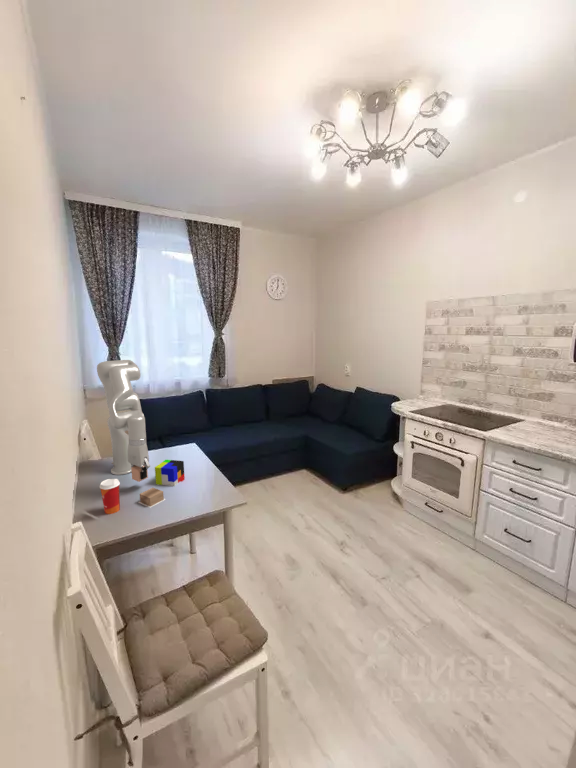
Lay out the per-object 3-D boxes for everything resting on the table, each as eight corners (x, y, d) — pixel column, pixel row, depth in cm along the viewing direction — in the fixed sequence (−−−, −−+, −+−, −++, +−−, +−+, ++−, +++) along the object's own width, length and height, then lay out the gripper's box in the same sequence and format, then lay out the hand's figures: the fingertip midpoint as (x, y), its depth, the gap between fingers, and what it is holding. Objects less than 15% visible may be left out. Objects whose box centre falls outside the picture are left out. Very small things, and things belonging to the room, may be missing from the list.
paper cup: (107, 508, 152) (103, 478, 150) (125, 507, 153) (122, 477, 150) (99, 518, 145) (95, 486, 142) (118, 517, 145) (115, 486, 143)
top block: (132, 478, 167) (131, 467, 166) (141, 474, 171) (140, 463, 170) (138, 481, 164) (138, 470, 163) (147, 477, 169) (147, 466, 167)
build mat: (128, 502, 157) (128, 499, 157) (150, 491, 168) (150, 489, 167) (151, 511, 149) (151, 509, 149) (173, 499, 159) (173, 497, 159)
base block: (140, 502, 155) (139, 493, 154) (153, 495, 161) (152, 487, 160) (150, 506, 152) (149, 498, 151) (163, 499, 157) (163, 491, 157)
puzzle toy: (174, 488, 170) (173, 469, 169) (156, 486, 172) (154, 467, 171) (184, 479, 180) (183, 461, 178) (167, 477, 182) (165, 459, 180)
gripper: (119, 439, 165) (121, 474, 169) (142, 447, 156) (144, 485, 160) (133, 434, 171) (135, 469, 175) (156, 442, 163) (158, 478, 167)
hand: (139, 476), depth 168 cm, fingers closed on top block, 5 cm apart
